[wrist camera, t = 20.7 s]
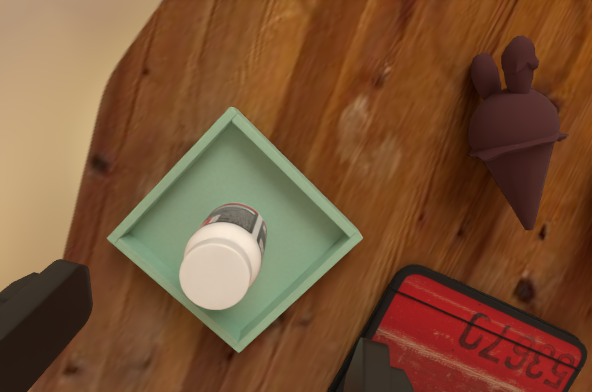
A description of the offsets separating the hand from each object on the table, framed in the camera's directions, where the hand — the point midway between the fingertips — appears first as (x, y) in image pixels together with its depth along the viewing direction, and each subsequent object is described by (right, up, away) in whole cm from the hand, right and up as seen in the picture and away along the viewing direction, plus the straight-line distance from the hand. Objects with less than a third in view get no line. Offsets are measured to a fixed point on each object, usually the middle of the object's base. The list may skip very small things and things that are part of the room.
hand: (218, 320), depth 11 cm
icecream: (+20, +9, +23) cm, 31 cm away
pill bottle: (-3, 0, +24) cm, 24 cm away
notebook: (+18, -13, +27) cm, 35 cm away
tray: (-3, 0, +24) cm, 24 cm away
